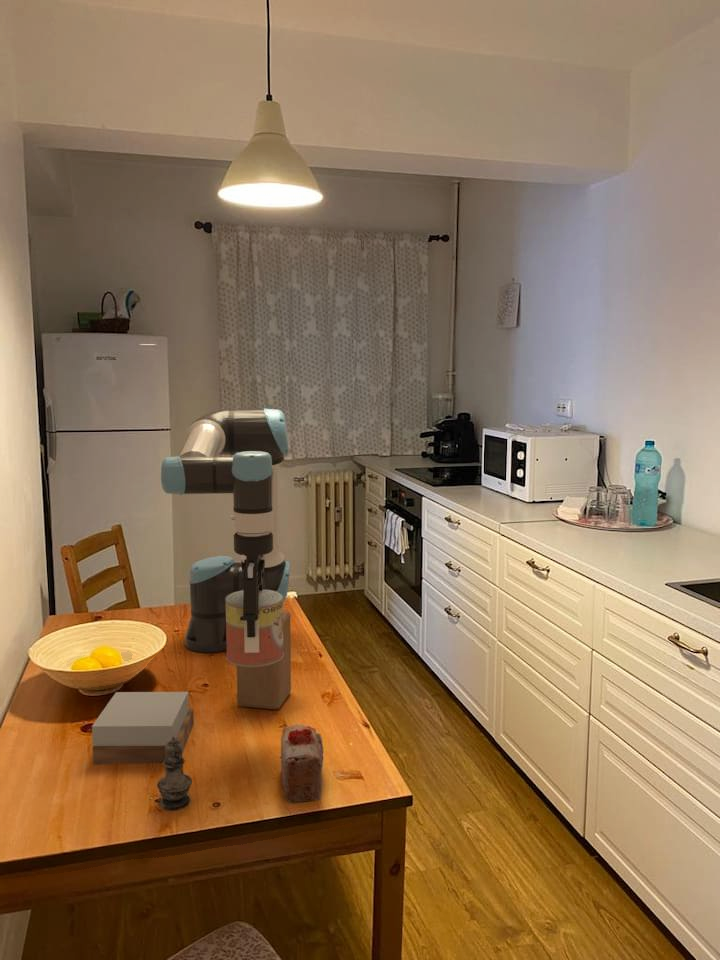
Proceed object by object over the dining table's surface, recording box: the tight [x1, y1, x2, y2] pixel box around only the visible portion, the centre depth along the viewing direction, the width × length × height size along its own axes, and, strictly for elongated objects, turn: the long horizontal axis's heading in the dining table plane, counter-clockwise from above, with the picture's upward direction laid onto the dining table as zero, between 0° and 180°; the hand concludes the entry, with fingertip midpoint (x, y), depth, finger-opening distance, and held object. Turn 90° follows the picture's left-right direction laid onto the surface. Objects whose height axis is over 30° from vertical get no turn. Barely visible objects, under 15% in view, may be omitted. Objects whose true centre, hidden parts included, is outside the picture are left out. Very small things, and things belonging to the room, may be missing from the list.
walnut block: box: [92, 707, 195, 765], centre depth 149 cm, size 16×16×4 cm
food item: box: [279, 724, 324, 803], centre depth 135 cm, size 14×8×10 cm, turn 9°
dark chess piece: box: [156, 737, 193, 812], centre depth 128 cm, size 6×6×12 cm
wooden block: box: [236, 609, 292, 710], centre depth 168 cm, size 10×10×20 cm
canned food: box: [225, 589, 284, 667], centre depth 147 cm, size 11×11×12 cm
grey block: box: [91, 691, 190, 747], centre depth 149 cm, size 15×15×4 cm
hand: (255, 640), depth 148 cm, fingers closed on canned food, 11 cm apart
